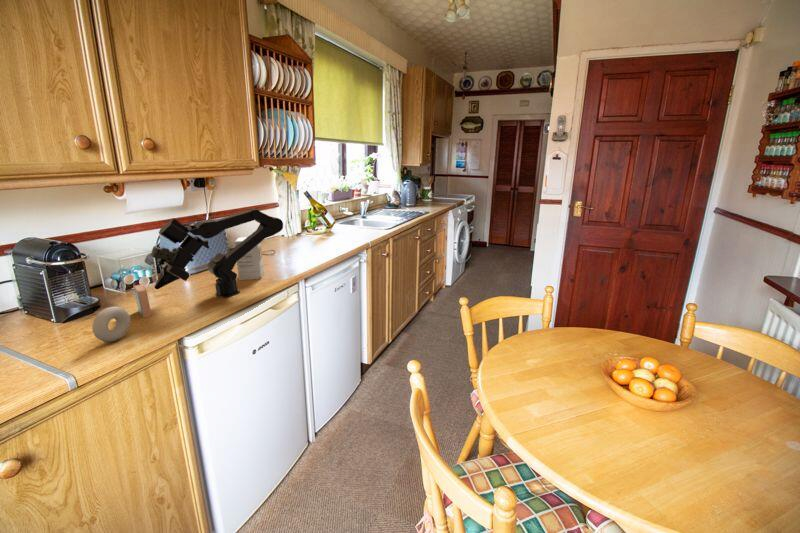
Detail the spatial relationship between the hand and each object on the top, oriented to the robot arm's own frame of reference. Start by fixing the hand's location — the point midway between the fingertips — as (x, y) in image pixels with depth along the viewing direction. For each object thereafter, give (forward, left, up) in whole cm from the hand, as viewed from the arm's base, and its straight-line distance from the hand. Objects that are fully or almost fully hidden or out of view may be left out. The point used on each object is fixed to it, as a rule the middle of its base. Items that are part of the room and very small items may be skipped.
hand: (155, 288), depth 126 cm
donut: (+18, +13, -8) cm, 24 cm away
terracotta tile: (+4, -1, -8) cm, 9 cm away
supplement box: (-41, -5, -8) cm, 42 cm away
